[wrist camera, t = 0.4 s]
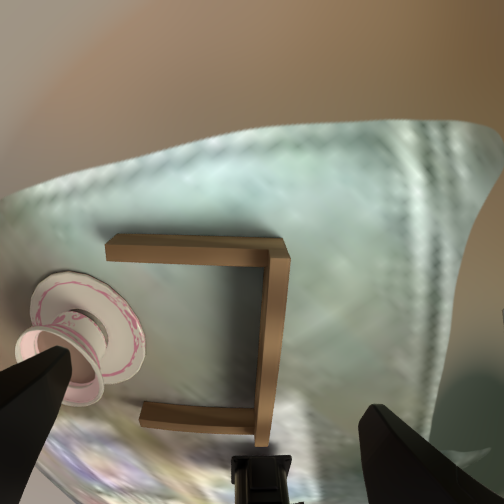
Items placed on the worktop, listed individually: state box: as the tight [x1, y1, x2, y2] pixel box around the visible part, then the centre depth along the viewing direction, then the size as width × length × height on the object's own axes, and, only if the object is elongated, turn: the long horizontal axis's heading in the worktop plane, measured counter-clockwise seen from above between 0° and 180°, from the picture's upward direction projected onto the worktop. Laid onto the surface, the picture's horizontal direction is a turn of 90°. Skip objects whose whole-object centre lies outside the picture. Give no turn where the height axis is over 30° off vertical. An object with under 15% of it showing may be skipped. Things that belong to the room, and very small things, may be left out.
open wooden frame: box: [105, 234, 291, 447], centre depth 24 cm, size 18×12×4 cm, turn 177°
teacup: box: [15, 271, 146, 407], centre depth 23 cm, size 12×12×6 cm
